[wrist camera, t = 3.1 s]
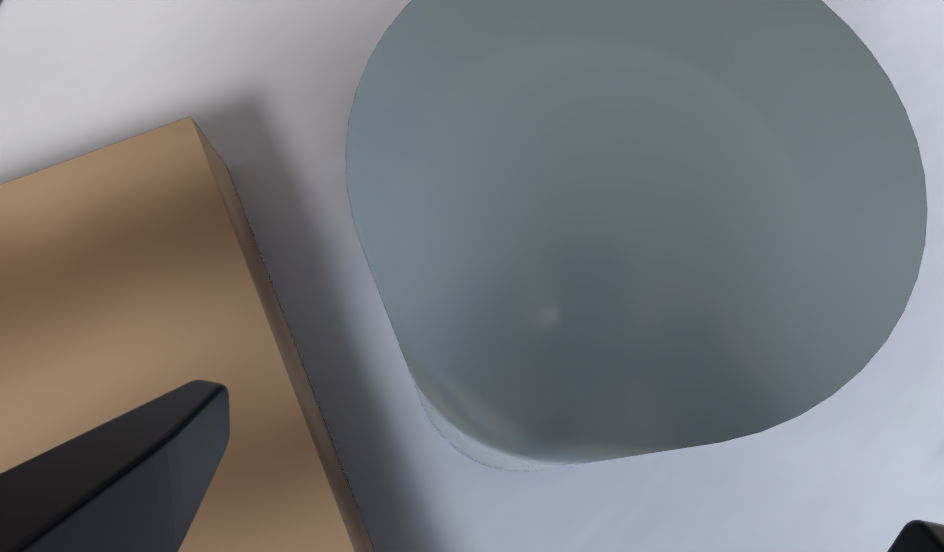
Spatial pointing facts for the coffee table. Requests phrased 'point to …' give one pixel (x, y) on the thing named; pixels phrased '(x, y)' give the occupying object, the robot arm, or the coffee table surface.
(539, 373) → the frosted glass cup
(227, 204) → the shelf
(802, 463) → the coffee table surface
